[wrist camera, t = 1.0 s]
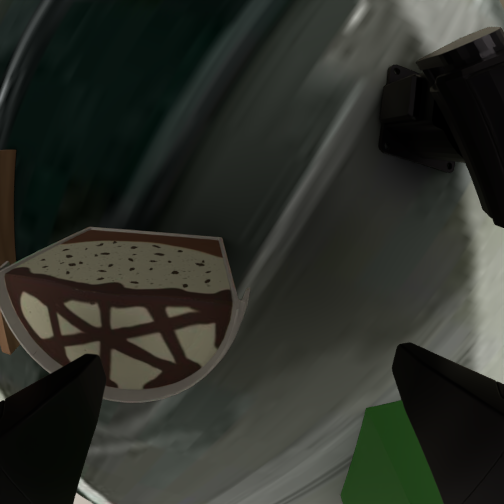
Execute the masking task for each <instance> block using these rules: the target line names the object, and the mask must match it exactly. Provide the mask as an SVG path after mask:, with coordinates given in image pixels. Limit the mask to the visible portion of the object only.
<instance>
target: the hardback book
mask: <svg viewBox="0 0 504 504" xmlns="http://www.w3.org/2000/svg"><path fill="white" fill-rule="evenodd" d="M341 498H342V502H343V504H444V503H443V501H442V498H441V495H440V493H439V490H438V488H437V485H436V483H435V480H434V477H433V475H432V472H431V470H430V468H429V465H428V463H427V460H426V458H425V455H424V453H423V451H422V448H421V446H420V444H419V441H418V439H417V437H416V434H415V432H414V430H413V427H412V425H411V423H410V421H409V418H408V416H407V414H406V411H405V409H404V406H403V403H402V400H401V401H396V402H392V403H388V404H383V405H379V406H374V407H369V408H366V411H365V415H364V419H363V423H362V427H361V430H360V434H359V438H358V441H357V445H356V448H355V452H354V455H353V458H352V462H351V465H350V468H349V471H348V474H347V477H346V480H345V483H344V486H343V489H342V492H341Z"/></svg>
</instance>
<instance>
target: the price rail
mask: <svg viewBox="0 0 504 504" xmlns="http://www.w3.org/2000/svg"><path fill="white" fill-rule="evenodd" d="M15 159H16V150H0V266H1V265H2V264H4V263H5V262H6V261H9V264H10V265H12V264H13V263H15V262H16V255H15V239H14V175H15ZM0 345H1V349H2V352H4V353H7V354H10V355H11V354H12V353H13V352H14V350H15V349H16V348H17V347H18V346H19V345H20V343H19V341H18V340H17V339H16V337H15V336H14V334H13V333H12V331H11V330H10V328H9V326H8V324H7V322H6V320H5V318H4V316H3V314H2V312H1V310H0Z"/></svg>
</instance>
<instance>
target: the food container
mask: <svg viewBox="0 0 504 504" xmlns="http://www.w3.org/2000/svg"><path fill="white" fill-rule="evenodd" d="M250 290H251V288H247V289H246V291H245V293H244V296H243V298H242V300H240V299H238V296H237V292H236V288H235V284H234V281H233V277H232V273H231V269H230V266H229V262H228V258H227V254H226V250H225V247H224V243H223V239H222V237H211V236H199V235H187V234H175V233H163V232H151V231H138V230H125V229H113V228H100V227H88V228H86V229H84V230H81V231H79V232H77V233H75V234H73V235H71V236H68V237H66V238H64V239H62V240H60V241H58V242H56V243H54V244H51V245H49V246H47V247H45V248H43V249H41V250H39V251H37V252H35V253H33V254H31V255H29V256H27V257H25V258H23V259H21V260H19V261H17V262H15V263H13V264H12V265H10V264H9V261H6V262H5V263H4V264H2V265H1V266H0V310H1V312H2V314H3V316H4V318H5V320H6V322H7V324H8V326H9V328H10V330H11V331H12V333H13V334H14V336H15V337H16V339H17V340H18V341H19V343H20V344H21V345H22V347H23V348H24V349H25V350H26V351H27V352H28V354H29V355H30V356H31V357H32V358H33V359H34V360H35V361H36V362H37V363H38V364H40V365H41V366H42V367H43V368H44V369H45V370H46V371H48V372H49V373H50V374H51V373H52V372H54V371H56V370H58V369H59V368H61V367H63V366H65V365H67V364H68V363H70V362H72V361H74V360H75V359H77V358H79V357H81V356H82V355H84V354H87V353H89V354H97V355H99V357H100V358H101V362H102V365H103V368H104V371H105V374H106V386H105V390H104V394H103V399H106V400H111V401H118V402H126V403H132V402H149V401H155V400H161V399H164V398H167V397H170V396H173V395H176V394H178V393H180V392H182V391H184V390H186V389H188V388H190V387H192V386H193V385H195V384H196V383H197V382H199V381H200V380H201V379H202V378H204V377H205V376H206V375H207V374H208V373H209V372H210V371H211V370H212V369H213V368H214V367H215V366H216V365H217V364H218V363H219V362H220V360H221V359H222V358H223V357H224V356H225V354H226V353H227V351H228V349H229V348H230V346H231V345H232V343H233V341H234V339H235V337H236V334H237V332H238V329H239V326H240V324H241V321H242V319H243V316H244V313H245V311H246V308H247V305H248V300H249V295H250Z"/></svg>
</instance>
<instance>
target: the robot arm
mask: <svg viewBox="0 0 504 504" xmlns="http://www.w3.org/2000/svg"><path fill="white" fill-rule="evenodd" d="M416 64H417V65H418V67H419V68H420V70H423V72H424V73H422V74H419V73H417V72H414V71H412V70H409V69H407V68H404V67H402V66H399V65H392V66H390V67H389V69H388V78H387V85H386V86H384V89H383V98H382V106H381V113H380V121H381V123H382V126H381V133H380V140H379V149H380V150H381V151H382V152H383V153H386V154H390V155H393V156H396V157H400V158H403V159H407V160H410V161H413V162H416V163H419V164H423V165H426V166H429V167H432V168H435V169H438V170H441V171H444V172H448V173H451V172H452V171H453V170H454V166H455V162H463V163H466V166H467V168H468V171H469V173H470V176H471V178H472V181H473V184H474V186H475V189H476V192H477V194H478V197H479V200H480V203H481V206H482V209H483V210H484V211H485V212H486V213H487V214H488V215H489V217H491V218H492V219H493V222H494V224H495V225H497V226H500V227H502V228H504V32H503V30H502V28H501V27H487V28H484V29H482V30H479V31H477V32H474V33H472V34H469V35H467V36H464V37H462V38H460V39H458V40H456V41H454V42H452V43H450V44H448V45H446V46H444V47H442V48H440V49H438V50H436V51H435V52H433V53H431V54H429V55H427V56H425V57H423V58H421V59H419V60H418V61H416ZM394 69H395V70H397V72H398V74H395V72H394ZM385 143H388V149H386V148H385V146H384V145H385ZM447 164H449V168H447ZM392 372H393V375H394V378H395V381H396V384H397V387H398V390H399V393H400V396H401V400H402V403H403V406H404V409H405V411H406V414H407V416H408V418H409V421H410V423H411V425H412V427H413V430H414V432H415V434H416V437H417V439H418V441H419V444H420V446H421V448H422V451H423V453H424V455H425V458H426V460H427V463H428V465H429V468H430V470H431V472H432V475H433V477H434V480H435V483H436V485H437V488H438V490H439V493H440V495H441V498H442V501H443V503H444V504H504V384H502V383H500V382H496V381H495V380H493V379H491V378H488V377H486V376H484V375H482V374H479V373H477V372H475V371H473V370H471V369H468V368H466V367H464V366H462V365H459V364H457V363H455V362H453V361H450V360H448V359H446V358H444V357H442V356H439V355H437V354H435V353H433V352H431V351H428V350H426V349H424V348H422V347H420V346H417V345H415V344H413V343H410V342H409V343H402V344H399V345H398V346H397V349H396V353H395V357H394V361H393V365H392ZM105 386H106V374H105V371H104V368H103V365H102V362H101V358H100V357H99V355H97V354H89V353H87V354H84V355H82V356H81V357H79V358H77V359H75V360H74V361H72V362H70V363H68V364H67V365H65V366H63V367H61V368H59V369H58V370H56V371H54V372H52V373H51V374H49V375H47V376H45V377H44V378H42V379H40V380H38V381H36V382H35V383H33V384H31V385H29V386H28V387H26V388H24V389H22V390H21V391H19V392H17V393H15V394H13V395H12V396H10V397H8V398H6V399H5V401H4V400H3V401H1V402H0V504H73V502H74V498H75V495H76V491H77V487H78V484H79V480H80V477H81V473H82V470H83V466H84V463H85V460H86V457H87V453H88V450H89V447H90V444H91V441H92V438H93V434H94V431H95V428H96V425H97V422H98V417H99V413H100V408H101V403H102V399H103V394H104V390H105Z"/></svg>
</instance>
